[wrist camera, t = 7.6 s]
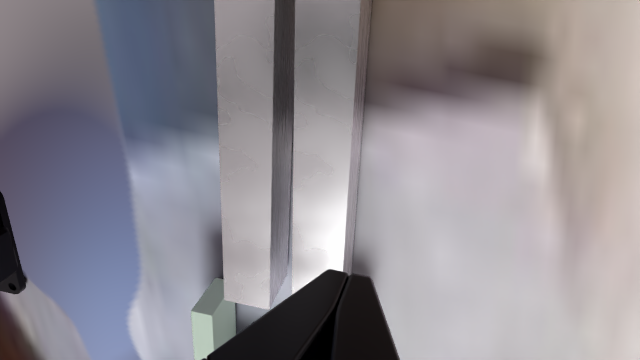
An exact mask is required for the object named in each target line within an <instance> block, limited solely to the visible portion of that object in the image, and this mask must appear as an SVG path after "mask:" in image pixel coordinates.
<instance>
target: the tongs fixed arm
mask: <svg viewBox="0 0 640 360" xmlns="http://www.w3.org/2000/svg"><path fill="white" fill-rule="evenodd" d="M214 6H215V36H216V66H217V96H218V126H219V156H220V186H221V216H222V245H223V275H224V300H226V301H230V302H235V303H240V304H244V305H249V306H254V307H258V308H263V309H268V310H269V309H270V307H271V306H272V304H273V302H274V300H275V298H276V296H277V294H278V292H279V290H280V288H281V286H282V284H283V282H284V280H285V278H286V276H287V265H288V238H289V210H290V183H291V155H292V128H293V100H294V60H295V0H214Z"/></svg>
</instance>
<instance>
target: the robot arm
mask: <svg viewBox="0 0 640 360" xmlns="http://www.w3.org/2000/svg"><path fill="white" fill-rule="evenodd" d="M25 288H26V284H25V280H24V276H23V272H22V268H21V264H20V260H19V256H18V252H17V248H16V244H15V240H14V236H13V232H12V228H11V224H10V220H9V216H8V213H7V208H6V205H5V200H4V197H3V195H2V193H1V192H0V291H3V292H8V293H12V294H19V293H20V292H21V291H23V290H24V289H25ZM201 360H400V358H399V356H398V353H397V350H396V347H395V344H394V341H393V338H392V335H391V332H390V330H389V327H388V324H387V321H386V318H385V315H384V312H383V309H382V307H381V304H380V301H379V298H378V295H377V292H376V289H375V286H374V283H373V281H372V279H371V277H369V276H364V275H359V274H350V275H349V274H348V273H347V272H344V271H339V270H333V269H328V270H326V271H325V272H323V273H322V274H320V275H319V276H318V277H316V278H315V279H313V280H312V281H311V282H309V283H308V284H306V285H305V286H304V287H302V288H301V289H299V290H298V291H297V292H295V293H294V294H292V295H291V296H290V297H288V298H287V299H285V300H284V301H283V302H281V303H280V304H278V305H277V306H276V307H274V308H273V309H271V310H270V311H269V312H267V313H266V314H264V315H263V316H262V317H260V318H259V319H258V320H256V321H255V322H253V323H252V324H251V325H249V326H248V327H246V328H245V329H244V330H242V331H241V332H239V333H238V334H237V335H235V336H234V337H232V338H231V339H230V340H228V341H227V342H225V343H224V344H223V345H221V346H220V347H218V348H217V349H216V350H214V351H213V352H211V353H210V354H209V355H207V359H206V358H203V359H201Z"/></svg>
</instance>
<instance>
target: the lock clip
mask: <svg viewBox="0 0 640 360" xmlns="http://www.w3.org/2000/svg"><path fill="white" fill-rule="evenodd" d="M191 320H192V334H193V347H194V360H201V359H203V358H206V359H207V355H209V354H210V353H211V352H213V351H214V350H216V349H217V348H218V347H220V346H221V345H223V344H224V343H225V342H227V341H228V340H230V339H231V338H232V337H234V336H235V335H236V316H235V302H230V301H226V300H224V279H219V278H215V279H214V280H213V282H212V283H211V284H210V286H209V287H208V289H207V290H206V291H205V293H204V294H203V295H202V297H201V298H200V299H199V301H198V302H197V303H196V305H195V306H194V308H193V309H192V310H191Z"/></svg>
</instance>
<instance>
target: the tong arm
mask: <svg viewBox="0 0 640 360" xmlns="http://www.w3.org/2000/svg"><path fill="white" fill-rule="evenodd" d="M371 5H372V0H295V60H294V149H293V238H292V294H294V293H295V292H297V291H298V290H299V289H301V288H302V287H304V286H305V285H306V284H308V283H309V282H311V281H312V280H313V279H315V278H316V277H318V276H319V275H320V274H322V273H323V272H325V271H326V270H328V269H333V270H339V271H344V272H347V273H348V274H349V275H350V274H351V272H352V258H353V245H354V232H355V218H356V205H357V192H358V178H359V165H360V152H361V138H362V125H363V111H364V98H365V85H366V71H367V58H368V45H369V31H370V18H371Z"/></svg>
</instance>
